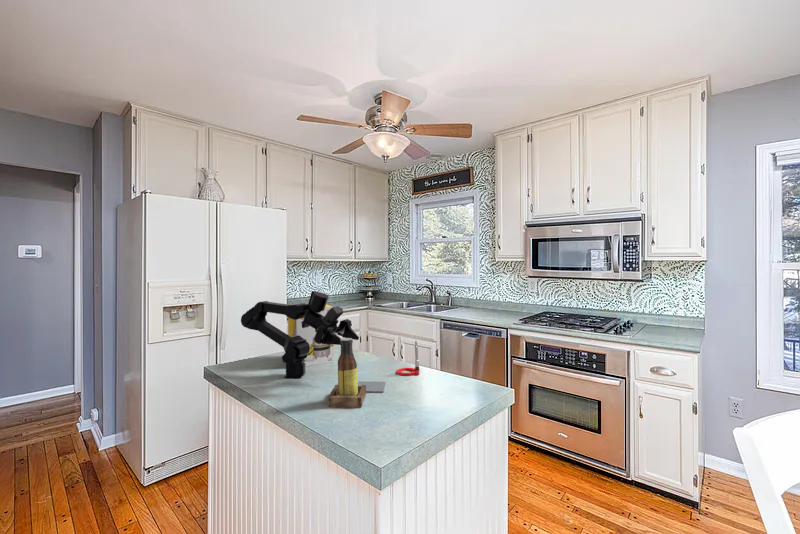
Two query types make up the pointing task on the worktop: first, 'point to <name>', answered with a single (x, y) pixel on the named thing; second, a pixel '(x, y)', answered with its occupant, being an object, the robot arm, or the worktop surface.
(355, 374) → the sauce bottle
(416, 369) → the tow hook
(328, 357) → the packaging box
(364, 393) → the holder frame
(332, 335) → the robot arm
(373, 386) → the slate tile
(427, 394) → the worktop surface
